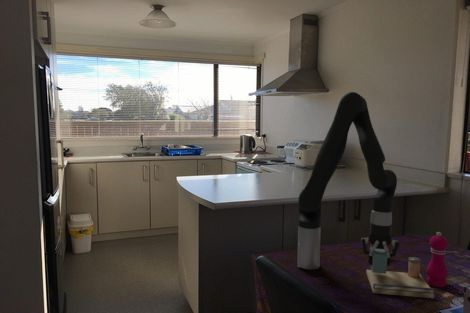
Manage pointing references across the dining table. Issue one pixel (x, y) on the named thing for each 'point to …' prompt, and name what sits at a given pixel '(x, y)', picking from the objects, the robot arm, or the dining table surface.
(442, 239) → the pepper mill
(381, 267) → the tea box
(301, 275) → the dining table surface
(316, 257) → the robot arm
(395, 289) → the shelf board
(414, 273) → the spice jar
